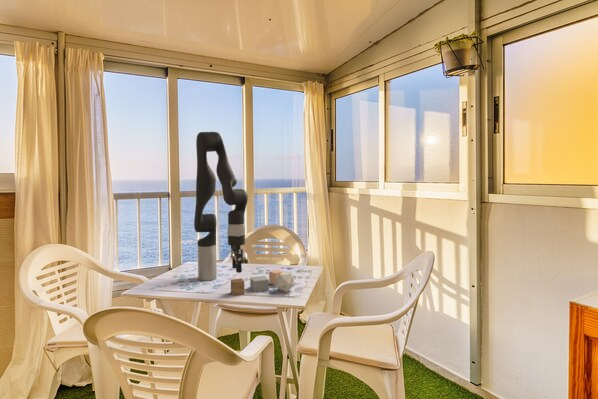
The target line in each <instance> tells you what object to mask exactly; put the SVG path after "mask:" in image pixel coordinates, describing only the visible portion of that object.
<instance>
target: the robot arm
mask: <svg viewBox="0 0 598 399" xmlns="http://www.w3.org/2000/svg"><path fill="white" fill-rule="evenodd" d="M195 144H196V180H195V208H194V209H195V210H194V217H193V218H194V221H193V226H194V227H193V228H194V231H195V232H196V233H208V234H207V235H206V236H204V237H202V238H199V239H198V240H197V280H199V281H202V282H205V281H213V280H216V279H217V277H218V276H217V275H218V274H217V271H218V270H217V225H218V224H217V216H216V214H214V213H204V210H205V208H206V205H207V203H208V202H209V201H210V200H211V199H212V197H213V196H214V195H215V192H216V188H217V187H216V185H217V184H216V183H217V178H218V180H219V183H220V184H221V190H222V196H223V197H222V198H223V201H224V202H225V204H227V205H229V206H234V209H232V210H230V211H228V213H227V223H228V225H227V244H228V246H230V258H231V260H232V262H231V264H232V269H235V271H236V273H237V274H239V273H242V271H243V268H242V266H243V265H242V264H243V263H244V249H243V248H241V246H244V245H245V244H246V228H245V227H246V226H245V212H246V208H247V204H248V200H249V199H248V198H249V196H248V193H247V191H246V190H245V189H243V188H234V187H235V186H236V185H237V183H238V182H237V181H238V179H237V178H236V175H235V174H234V172H233V169H232V167H231V165H230V162H229V159H228V158H229V157H228V155H227V150H226V148H225V144H224V140H223V137H222V136H221V134H220V133H219V132H217V131H200V132H198V134H197V136H196V143H195ZM209 152H210V153H211V152H215V153H216V155H217V164H216V168H215V169H216V170H215V171H216V174H217V175H216V176H217V178H216V176H215V173H214V171H213V169H212V168H211V167H210V165H209V161H208V158H207V157H208V156H207V155H208V153H209Z"/></svg>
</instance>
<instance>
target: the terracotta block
mask: <svg viewBox="0 0 598 399" xmlns="http://www.w3.org/2000/svg"><path fill="white" fill-rule="evenodd" d="M282 272H284V271H283V270H279V269H275V270H269V272H268V278H269V285H272V286H276V287H277V285H276V282H275V280H274V279H275V278H276V277H278V276H279V275H280V274H281V273H282Z"/></svg>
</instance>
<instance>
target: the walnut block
mask: <svg viewBox="0 0 598 399" xmlns="http://www.w3.org/2000/svg"><path fill="white" fill-rule="evenodd" d="M230 293H231V295H232V296H234V297H235V296H242V295H243V296H244V295H245V280H244V279H243V278H232V279H230Z"/></svg>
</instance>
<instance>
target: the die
mask: <svg viewBox="0 0 598 399" xmlns="http://www.w3.org/2000/svg"><path fill="white" fill-rule="evenodd" d="M274 280H275V282H276V287H277V290H278V291H280V292H285V293H288V292H289V291H290V290H291V289H292V288H293V287H294V286H296V283H295V281H294V277H293V275H292V273H290V272H286V271H283V272H282V273H281V274H280V275H279V276H278V277H276V278H275V279H274Z"/></svg>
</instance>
